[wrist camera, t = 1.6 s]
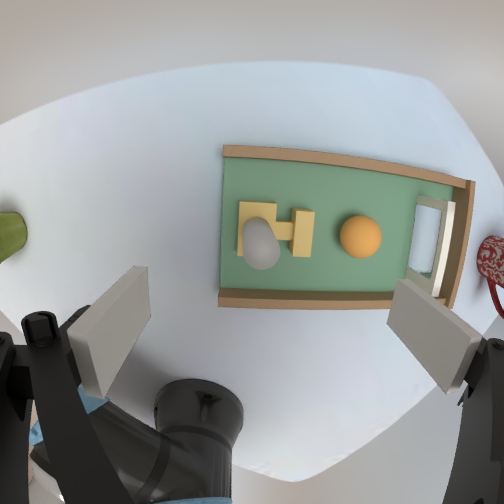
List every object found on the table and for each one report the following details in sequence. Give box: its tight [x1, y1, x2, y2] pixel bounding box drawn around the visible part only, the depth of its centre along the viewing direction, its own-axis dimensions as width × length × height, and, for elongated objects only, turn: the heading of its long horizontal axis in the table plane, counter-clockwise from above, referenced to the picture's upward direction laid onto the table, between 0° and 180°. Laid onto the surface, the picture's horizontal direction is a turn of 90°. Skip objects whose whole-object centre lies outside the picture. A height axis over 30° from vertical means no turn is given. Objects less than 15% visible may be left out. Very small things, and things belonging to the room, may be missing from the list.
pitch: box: [218, 145, 475, 310], centre depth 32 cm, size 32×18×9 cm, turn 87°
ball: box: [340, 215, 382, 259], centre depth 32 cm, size 5×5×5 cm
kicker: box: [237, 200, 315, 270], centre depth 29 cm, size 8×6×11 cm
